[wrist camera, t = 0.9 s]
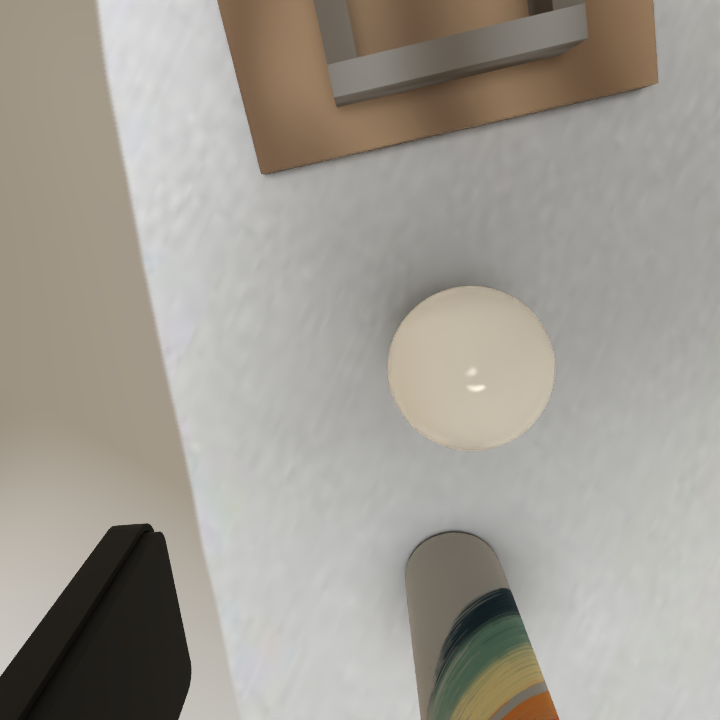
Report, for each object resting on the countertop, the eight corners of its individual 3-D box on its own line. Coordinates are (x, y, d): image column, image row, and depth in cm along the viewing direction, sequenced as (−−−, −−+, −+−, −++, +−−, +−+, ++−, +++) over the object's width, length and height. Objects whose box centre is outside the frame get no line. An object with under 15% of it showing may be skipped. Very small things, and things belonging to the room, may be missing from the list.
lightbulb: (355, 330, 30) (353, 408, 20) (436, 234, 29) (481, 262, 18) (446, 403, 31) (490, 513, 21) (528, 314, 30) (620, 384, 20)
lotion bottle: (481, 620, 36) (624, 1130, 16) (391, 598, 35) (431, 1096, 16) (514, 543, 34) (715, 1006, 15) (421, 518, 33) (505, 965, 14)
